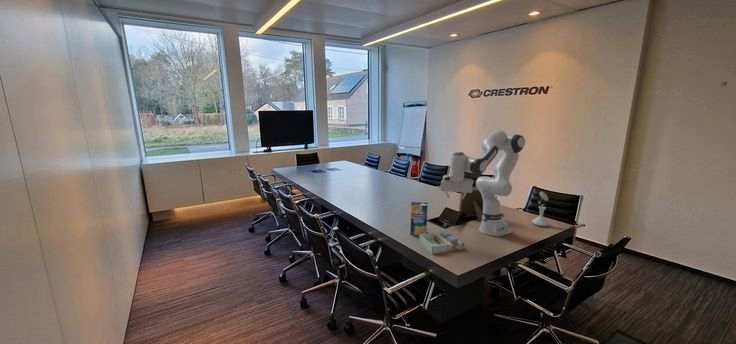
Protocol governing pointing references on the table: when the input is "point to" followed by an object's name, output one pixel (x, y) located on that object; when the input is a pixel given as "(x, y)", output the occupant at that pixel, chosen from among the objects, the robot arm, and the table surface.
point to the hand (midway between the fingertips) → (455, 198)
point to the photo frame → (472, 203)
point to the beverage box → (418, 218)
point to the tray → (432, 244)
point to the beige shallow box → (450, 246)
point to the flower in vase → (541, 213)
